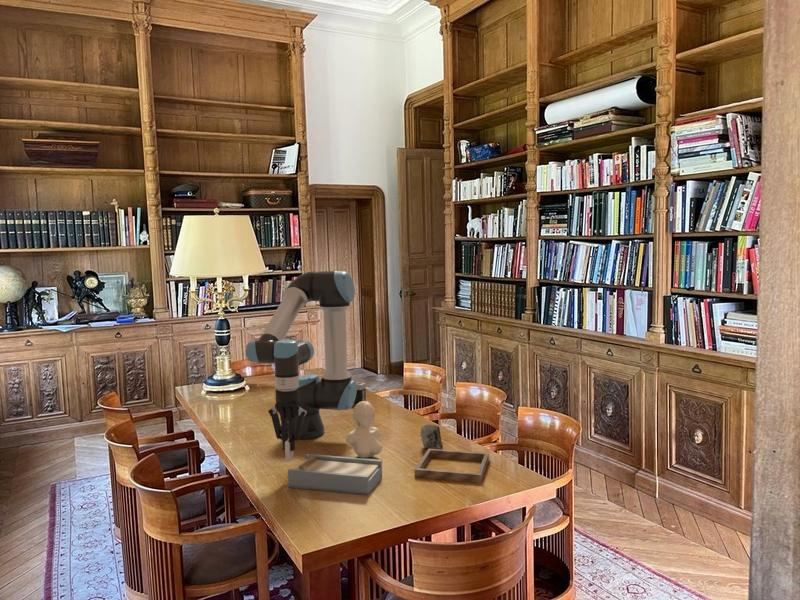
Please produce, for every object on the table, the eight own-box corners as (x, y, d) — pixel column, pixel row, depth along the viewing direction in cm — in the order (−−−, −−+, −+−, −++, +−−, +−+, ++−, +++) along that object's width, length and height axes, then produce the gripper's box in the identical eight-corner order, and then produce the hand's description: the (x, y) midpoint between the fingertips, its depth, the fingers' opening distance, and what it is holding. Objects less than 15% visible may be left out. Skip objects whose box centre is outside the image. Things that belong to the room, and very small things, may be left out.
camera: (371, 401, 295) (370, 380, 294) (360, 405, 288) (360, 384, 287) (347, 397, 302) (347, 377, 301) (337, 401, 295) (336, 380, 294)
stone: (446, 421, 225) (419, 419, 229) (440, 445, 219) (413, 442, 222) (449, 436, 232) (424, 433, 235) (444, 459, 226) (418, 456, 229)
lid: (292, 473, 194) (292, 467, 194) (307, 460, 205) (307, 454, 205) (367, 480, 188) (367, 473, 187) (378, 467, 199) (378, 460, 199)
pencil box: (288, 487, 193) (287, 470, 192) (307, 470, 207) (307, 453, 207) (367, 495, 186) (367, 477, 186) (382, 476, 201) (381, 460, 200)
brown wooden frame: (414, 476, 200) (414, 469, 200) (428, 455, 220) (428, 448, 219) (480, 482, 195) (480, 475, 194) (488, 460, 214) (488, 453, 214)
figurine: (355, 464, 212) (354, 407, 210) (342, 456, 219) (341, 401, 218) (388, 456, 219) (388, 401, 217) (375, 449, 227) (374, 396, 225)
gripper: (263, 390, 196) (265, 462, 198) (301, 392, 193) (303, 465, 195) (273, 384, 203) (276, 454, 206) (310, 386, 200) (312, 457, 202)
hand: (289, 460), depth 200 cm, fingers closed
